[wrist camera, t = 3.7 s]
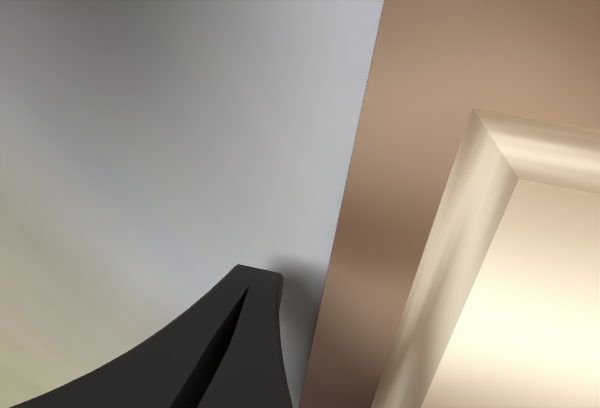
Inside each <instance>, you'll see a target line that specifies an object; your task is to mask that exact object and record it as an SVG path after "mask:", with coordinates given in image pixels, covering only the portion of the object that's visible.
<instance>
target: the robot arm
mask: <svg viewBox="0 0 600 408" xmlns="http://www.w3.org/2000/svg"><path fill="white" fill-rule="evenodd" d="M283 281H284V277H283V276H282V275H281V273H276V272H272V271H267V270H263V269H258V268H253V267H249V266H244V265H240V264H238V265H237V266H235V267H234V268H233V269H232V270H231V271H230V272H229V273H228V274H227V275H226V276H225V277H224V278H223V279H222V280H221V281H219V282H218V283H217V284H216V285H215V286H214V287H213V288H212V289H211V290H210V291H209V292H208V293H206V294H205V295H204V296H203V297H202V298H201V299H199V300H198V301H197V302H196V303H195V304H193V305H192V306H191V307H190V308H189V309H187V310H186V311H185V312H184V313H182V314H181V315H180V316H178V317H177V318H176V319H174V320H173V321H172V322H171V323H169V324H168V325H167V326H165V327H164V328H163V329H161V330H160V331H158V332H157V333H155V334H154V335H153V336H151V337H150V338H148V339H147V340H145V341H144V342H142V343H140V344H139V345H137V346H136V347H134V348H133V349H131V350H129V351H128V352H126V353H124V354H122V355H121V356H119V357H117V358H115V359H114V360H112V361H110V362H109V363H107V364H105V365H103V366H101V367H99V368H98V369H96V370H94V371H92V372H90V373H88V374H86V375H84V376H82V377H80V378H78V379H75V380H73V381H71V382H69V383H67V384H65V385H63V386H61V387H59V388H57V389H54V390H52V391H50V392H48V393H45V394H43V395H41V396H38V397H36V398H33V399H31V400H28V401H25V402H23V403H20V404H18V405H15V406H13V407H10V408H293V407H292V402H291V398H290V394H289V390H288V385H287V380H286V375H285V369H284V363H283V357H282V349H281V340H280V326H279V308H280V301H281V294H282V287H283Z"/></svg>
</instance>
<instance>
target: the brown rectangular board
mask: <svg viewBox="0 0 600 408" xmlns="http://www.w3.org/2000/svg"><path fill="white" fill-rule="evenodd" d="M472 108H478V109H483V110H489V111H495V112H500V113H506V114H511V115H517V116H523V117H528V118H534V119H539V120H545V121H550V122H556V123H562V124H567V125H573V126H578V127H584V128H590V129H595V130H600V0H384V5H383V9H382V14H381V19H380V24H379V28H378V33H377V38H376V43H375V47H374V52H373V57H372V62H371V67H370V71H369V76H368V81H367V86H366V90H365V95H364V100H363V105H362V109H361V114H360V119H359V124H358V128H357V133H356V138H355V143H354V148H353V152H352V157H351V162H350V167H349V171H348V176H347V181H346V186H345V190H344V195H343V200H342V205H341V209H340V214H339V219H338V224H337V228H336V233H335V238H334V243H333V248H332V252H331V257H330V262H329V267H328V271H327V276H326V281H325V286H324V290H323V295H322V300H321V305H320V309H319V314H318V319H317V324H316V329H315V333H314V338H313V343H312V348H311V352H310V357H309V362H308V367H307V371H306V376H305V381H304V386H303V390H302V395H301V400H300V405H299V408H371V406H372V403H373V400H374V397H375V394H376V391H377V388H378V385H379V382H380V379H381V376H382V373H383V370H384V367H385V364H386V361H387V358H388V355H389V352H390V350H391V347H392V344H393V341H394V338H395V335H396V332H397V329H398V326H399V323H400V320H401V317H402V314H403V311H404V308H405V305H406V302H407V299H408V296H409V293H410V291H411V288H412V285H413V282H414V279H415V276H416V273H417V270H418V267H419V264H420V261H421V258H422V255H423V252H424V249H425V246H426V243H427V240H428V237H429V234H430V232H431V229H432V226H433V223H434V220H435V217H436V214H437V211H438V208H439V205H440V202H441V199H442V196H443V193H444V190H445V187H446V184H447V181H448V178H449V175H450V173H451V170H452V167H453V164H454V161H455V158H456V155H457V152H458V149H459V146H460V143H461V140H462V137H463V134H464V131H465V128H466V125H467V122H468V119H469V116H470V114H471V111H472Z"/></svg>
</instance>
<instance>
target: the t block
mask: <svg viewBox="0 0 600 408" xmlns="http://www.w3.org/2000/svg"><path fill="white" fill-rule="evenodd" d="M371 408H600V130H595V129H590V128H584V127H578V126H573V125H567V124H562V123H556V122H550V121H545V120H539V119H534V118H528V117H523V116H517V115H511V114H506V113H500V112H495V111H489V110H483V109H478V108H472V111H471V114H470V116H469V119H468V122H467V125H466V128H465V131H464V134H463V137H462V140H461V143H460V146H459V149H458V152H457V155H456V158H455V161H454V164H453V167H452V170H451V173H450V175H449V178H448V181H447V184H446V187H445V190H444V193H443V196H442V199H441V202H440V205H439V208H438V211H437V214H436V217H435V220H434V223H433V226H432V229H431V232H430V234H429V237H428V240H427V243H426V246H425V249H424V252H423V255H422V258H421V261H420V264H419V267H418V270H417V273H416V276H415V279H414V282H413V285H412V288H411V291H410V293H409V296H408V299H407V302H406V305H405V308H404V311H403V314H402V317H401V320H400V323H399V326H398V329H397V332H396V335H395V338H394V341H393V344H392V347H391V350H390V352H389V355H388V358H387V361H386V364H385V367H384V370H383V373H382V376H381V379H380V382H379V385H378V388H377V391H376V394H375V397H374V400H373V403H372V406H371Z"/></svg>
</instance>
